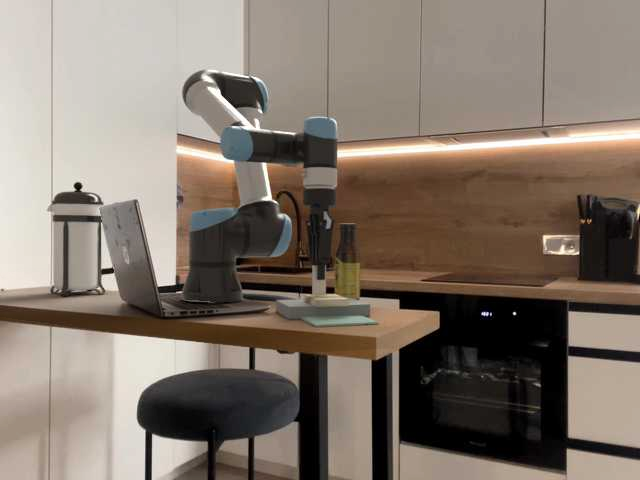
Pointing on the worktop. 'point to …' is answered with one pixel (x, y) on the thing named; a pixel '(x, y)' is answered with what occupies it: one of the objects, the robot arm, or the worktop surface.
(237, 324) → the worktop surface
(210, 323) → the worktop surface
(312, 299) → the cream notepad
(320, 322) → the mat
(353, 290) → the sauce bottle
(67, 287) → the coffee press
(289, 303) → the grey slab
